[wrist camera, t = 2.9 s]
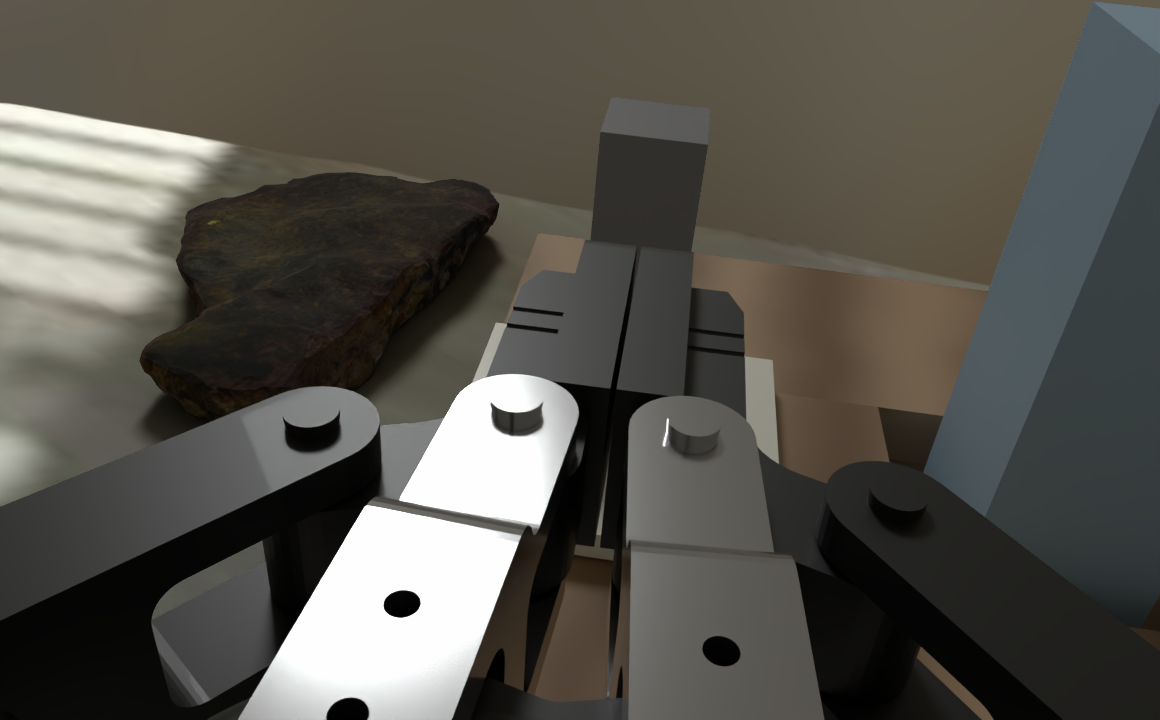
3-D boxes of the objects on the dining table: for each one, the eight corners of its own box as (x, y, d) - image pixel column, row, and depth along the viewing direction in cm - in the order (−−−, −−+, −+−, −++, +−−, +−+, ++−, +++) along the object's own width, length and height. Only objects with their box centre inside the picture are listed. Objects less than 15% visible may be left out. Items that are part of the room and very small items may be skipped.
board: (358, 789, 21) (352, 719, 20) (535, 286, 40) (538, 233, 39) (1345, 957, 20) (1413, 895, 19) (1047, 355, 39) (1069, 301, 38)
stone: (293, 464, 30) (286, 387, 29) (2, 375, 33) (-20, 301, 31) (509, 243, 45) (512, 184, 43) (294, 194, 47) (289, 136, 46)
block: (944, 612, 26) (1174, 66, 18) (916, 492, 31) (1092, 1, 22) (1132, 641, 26) (1456, 97, 18) (1077, 515, 30) (1319, 26, 22)
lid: (423, 531, 24) (416, 170, 19) (495, 343, 32) (504, 44, 26) (778, 585, 24) (876, 228, 18) (768, 380, 31) (835, 82, 26)
